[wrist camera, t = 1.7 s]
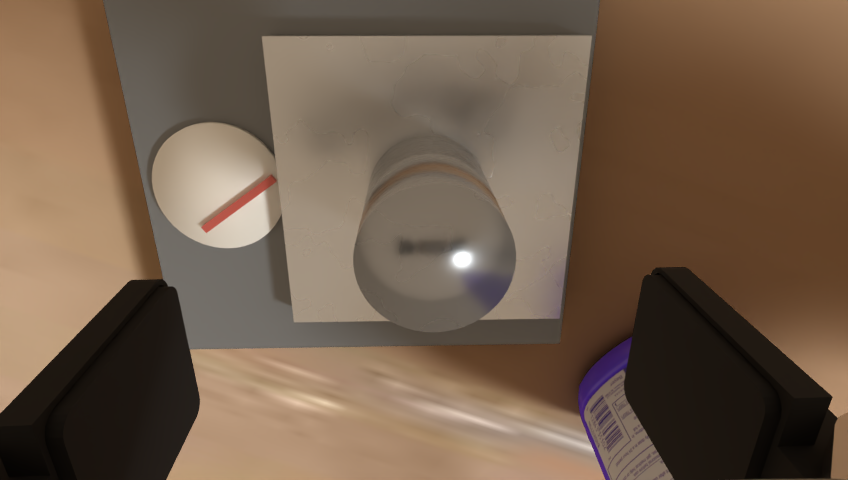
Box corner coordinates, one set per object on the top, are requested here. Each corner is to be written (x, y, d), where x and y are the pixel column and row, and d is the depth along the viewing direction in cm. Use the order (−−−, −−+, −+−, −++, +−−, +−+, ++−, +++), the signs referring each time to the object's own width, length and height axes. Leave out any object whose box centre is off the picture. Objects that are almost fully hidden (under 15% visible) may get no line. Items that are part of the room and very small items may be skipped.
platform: (583, 34, 19) (591, 35, 18) (553, 306, 23) (559, 318, 22) (268, 35, 19) (261, 36, 18) (298, 310, 23) (293, 322, 22)
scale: (583, -25, 20) (608, -30, 18) (548, 318, 26) (562, 349, 24) (128, -25, 20) (88, -30, 17) (196, 322, 26) (173, 356, 23)
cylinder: (489, 134, 19) (521, 183, 14) (483, 246, 21) (510, 331, 15) (366, 135, 19) (348, 185, 13) (370, 248, 21) (356, 333, 15)
